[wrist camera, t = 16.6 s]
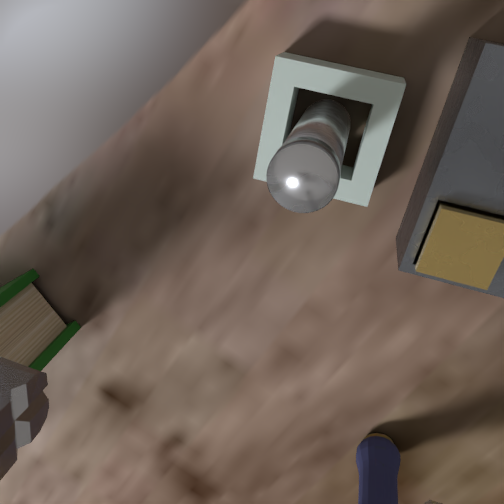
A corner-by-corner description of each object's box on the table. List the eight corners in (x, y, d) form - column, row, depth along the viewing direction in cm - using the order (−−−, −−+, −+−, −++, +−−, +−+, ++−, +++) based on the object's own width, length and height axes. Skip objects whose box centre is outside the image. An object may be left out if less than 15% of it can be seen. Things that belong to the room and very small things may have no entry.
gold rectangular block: (495, 191, 32) (518, 227, 27) (470, 247, 34) (486, 290, 29) (431, 176, 33) (441, 208, 28) (410, 231, 35) (415, 271, 30)
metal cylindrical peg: (357, 104, 32) (347, 153, 22) (343, 154, 34) (328, 221, 23) (306, 93, 32) (273, 135, 22) (296, 143, 34) (260, 203, 24)
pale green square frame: (404, 77, 30) (406, 84, 28) (368, 191, 34) (367, 206, 32) (283, 51, 31) (275, 56, 29) (262, 165, 35) (253, 178, 33)
